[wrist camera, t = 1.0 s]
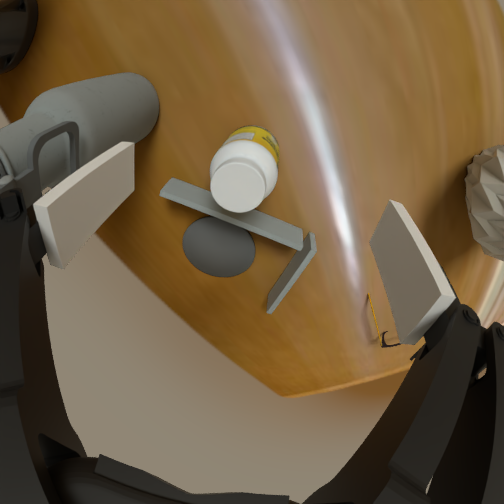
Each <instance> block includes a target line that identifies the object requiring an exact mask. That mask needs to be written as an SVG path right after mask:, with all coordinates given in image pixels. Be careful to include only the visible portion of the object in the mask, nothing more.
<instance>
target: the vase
mask: <svg viewBox="0 0 504 504" xmlns="http://www.w3.org/2000/svg"><path fill="white" fill-rule="evenodd" d="M467 170H468V175H467V176H466V178H465V179H464V181H465V182H466V195H465V198H466V204H467V209H468V215H469V218H470V221H471V227H472V233H473V239H474V240H476V241H477V242H478V243H480V244H481V246H482V249H483V252H484V254H486V255H489V256H491V257H494V258H497V259H499V260H502V261H504V145H497V146H494V147H491V148H488V149H485V150H483V151H482V153H481V155H474V158H473V163H472V164H470V165H468V166H467Z"/></svg>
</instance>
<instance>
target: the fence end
mask: <svg viewBox="0 0 504 504" xmlns="http://www.w3.org/2000/svg"><path fill="white" fill-rule="evenodd" d="M316 252H317V250H316V242H315V234H313V233H311V232H309V233H308V235H307V237H306V238H305V240H304V241H303V248H302V250H301V251H299V250H297V252H296V254H295V255H294V257H293V258H292V260H291V261H290V263H289V264H288V266H287V267H286V269H285V270H284V272H283V273H282V275H281V276H280V278H279V279H278V281H277V282H276V284H275V285H274V287H273V288H272V290H271V291H270V293H269V294H268V303H267V313H269V314H272V312H273V311H274V310H275V308H276V307H277V306H278V304H279V303H280V302H281V300H282V299H283V298H284V296H285V295H286V294H287V292H288V291H289V290H290V288H291V287H292V285H293V284H294V283H295V281H296V280H297V279H298V277H299V276H300V274H301V273H302V272H303V270H304V269H305V267H306V266H307V265H308V263H309V262H310V260H311V259H312V258H313V256H314V255H315V253H316Z"/></svg>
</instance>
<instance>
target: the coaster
mask: <svg viewBox="0 0 504 504" xmlns="http://www.w3.org/2000/svg"><path fill="white" fill-rule="evenodd" d="M183 249H184V252H185V255H186V256H187V258H188V260H189V261H190V262H191V263H192V264H193V265H194V266H195V267H196V268H198V269H199V270H201V271H202V272H204V273H207V274H209V275H212V276H217V277H231V276H235V275H238V274H241V273H242V272H244V271H245V270H247V269H248V268H249V267H250V265H251V264H252V262H253V260H254V257H255V245H254V241H253V239H252V237H251V235H250V234H249V233H248V231H247V230H246V229H244V228H242V227H239V226H237V225H234V224H232V223H229V222H227V221H224V220H222V219H219V218H216V217H214V216H210V217H204V218H201V219H198V220H196V221H195V222H193V223H192V224H191V225H190V226H189V227H188V228H187V230H186V232H185V234H184V237H183Z"/></svg>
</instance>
